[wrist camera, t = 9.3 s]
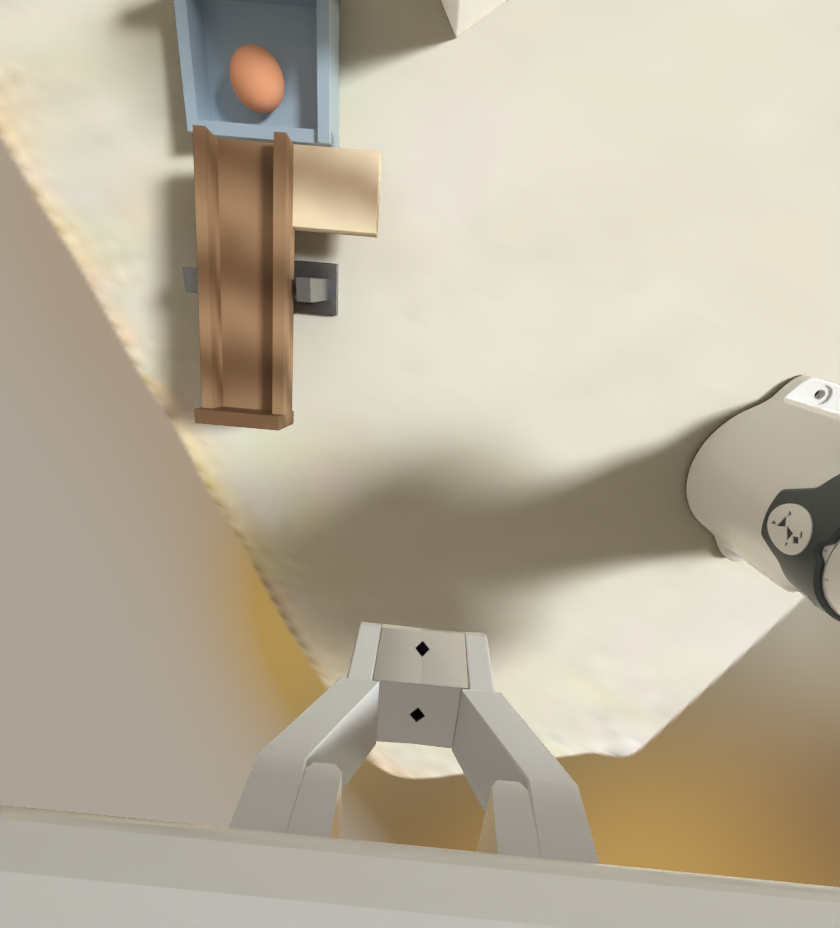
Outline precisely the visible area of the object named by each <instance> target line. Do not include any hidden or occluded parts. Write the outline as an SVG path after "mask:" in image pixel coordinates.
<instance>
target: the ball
mask: <svg viewBox="0 0 840 928" xmlns="http://www.w3.org/2000/svg"><path fill="white" fill-rule="evenodd" d="M229 72H230V80H231V84H232V87H233V89H234V91H235V93H236V95H237V97H238V98H239V99H240V101H241V102H242V103H243V104H244V105H245V106H246V107H248V108H249V109H251V110H253V111H255V112H258V113H269V112H272V111H274V110H275V109H276V108H277V107H278V106H279V105H280V103H281V101H282V99H283V96H284V89H285V84H284V77H283V73H282V71H281V68H280V66H279V64H278V62H277V61H276V59H275V58H274V57H273V55H272V54H271V53H270V52H268V51H267V50H266V49H264V48H263V47H261V46H258V45H255V44H247V45H243V46H241V47H240V48H238V49H237V50H236V51H235V53H234V54H233V56H232V59H231V62H230V71H229Z"/></svg>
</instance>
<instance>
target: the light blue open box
mask: <svg viewBox="0 0 840 928" xmlns="http://www.w3.org/2000/svg"><path fill="white" fill-rule="evenodd" d="M174 10H175V19H176V28H177V38H178V47H179V56H180V66H181V75H182V84H183V94H184V103H185V112H186V122H187V131H188V132H190V133H192V134H193V125H201V126H206V127H207V128H208V129H209V130H210V131H211V133H212V134H213V135H214V136H215V137H216V138H217V139H229V140H241V141H254V142H266V143H274V132H286V133H287V135H288V136H289V138H290V139H291V141H292V142H293V144H298V145H310V146H322V147H334V148H339V0H174ZM247 44H255V45H258V46H261V47H263V48H264V49H266V50H267V51H268V52H270V53H271V54H272V55H273V57H274V58H275V59H276V61H277V62H278V64H279V66H280V68H281V71H282V73H283V77H284V84H285V89H284V96H283V99H282V101H281V103H280V105H279V106H278V107H277V108H276V109H275V110H274V111H272V112H269V113H258V112H255V111H253V110H251V109H249V108H248V107H246V106H245V105H244V104H243V103H242V102H241V101H240V99H239V98H238V97H237V95H236V93H235V91H234V89H233V87H232V84H231V80H230V72H229V71H230V62H231V59H232V56H233V54H234V53H235V51H236V50H237V49H238V48H240V47H241V46H243V45H247Z"/></svg>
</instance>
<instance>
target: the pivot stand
mask: <svg viewBox="0 0 840 928" xmlns="http://www.w3.org/2000/svg"><path fill="white" fill-rule="evenodd" d="M183 272H184V280H185V288H186V292H195V293H198V271H197V268H186V267H183ZM294 283H296V294H297V298H295V297H294V310H293V312H303V313H314V314H326V315H338V264H331V263H320V262H308V261H296V260H294Z"/></svg>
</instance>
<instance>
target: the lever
mask: <svg viewBox="0 0 840 928" xmlns="http://www.w3.org/2000/svg"><path fill="white" fill-rule="evenodd" d="M193 154H194V183H195V212H196V242H197V271H198V300H199V330H200V359H201V389H202V408H197V409H195V423H202V424H213V425H224V426H236V427H247V428H258V429H269V430H280V429H282V428H285V427H287V426H289V425H291V424H293V416H294V411H292V375H293V310H294V297H295V298H297V294H296V283H294V244H295V230H297V231H308V232H320V233H332V234H344V235H355V236H367V237H377V232H378V215H379V197H380V179H381V162H382V157H381V154H380V151H370V150H358V149H346V148H334V147H322V146H310V145H298V144H293V142H292V141H291V139H290V138H289V136H288V135H287V133H286V132H274V143H266V142H254V141H241V140H229V139H217V138H216V137H215V136H214V135H213V134H212V133H211V131H210V130H209V129H208V128H207V127H206V126H201V125H193Z"/></svg>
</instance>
